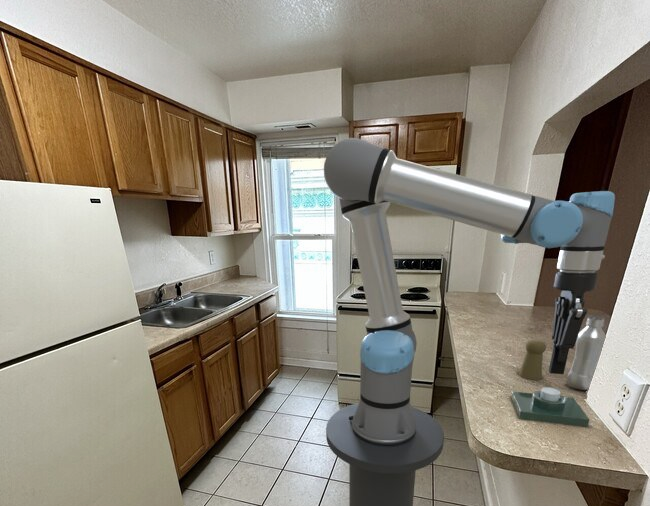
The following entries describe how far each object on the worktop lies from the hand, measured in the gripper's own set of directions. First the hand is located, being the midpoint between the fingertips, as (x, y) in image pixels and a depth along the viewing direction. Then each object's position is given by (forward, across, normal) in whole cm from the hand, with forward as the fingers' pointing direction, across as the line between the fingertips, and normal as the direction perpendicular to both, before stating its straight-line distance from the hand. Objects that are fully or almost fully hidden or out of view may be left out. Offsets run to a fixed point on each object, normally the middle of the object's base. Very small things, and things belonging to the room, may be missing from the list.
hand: (556, 372), depth 83 cm
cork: (+11, +23, -1) cm, 25 cm away
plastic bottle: (+11, +17, -12) cm, 23 cm away
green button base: (+11, 0, 0) cm, 11 cm away
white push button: (+7, 0, 0) cm, 7 cm away
